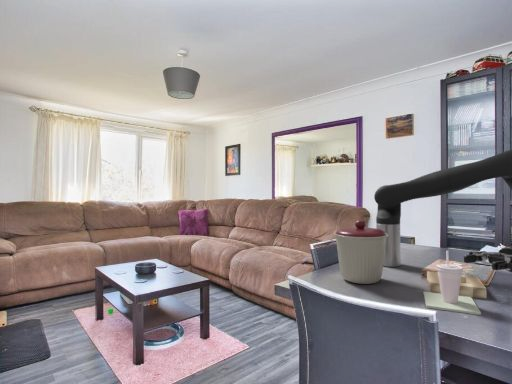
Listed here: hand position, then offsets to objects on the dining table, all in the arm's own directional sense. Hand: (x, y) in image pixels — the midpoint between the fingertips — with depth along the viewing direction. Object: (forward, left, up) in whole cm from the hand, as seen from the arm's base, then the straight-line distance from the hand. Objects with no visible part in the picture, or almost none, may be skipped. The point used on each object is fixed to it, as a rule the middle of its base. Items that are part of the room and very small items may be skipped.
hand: (478, 262), depth 87 cm
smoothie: (-8, -6, -10) cm, 14 cm away
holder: (-5, +8, -11) cm, 14 cm away
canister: (-33, +6, -11) cm, 35 cm away
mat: (-8, -7, -11) cm, 15 cm away
